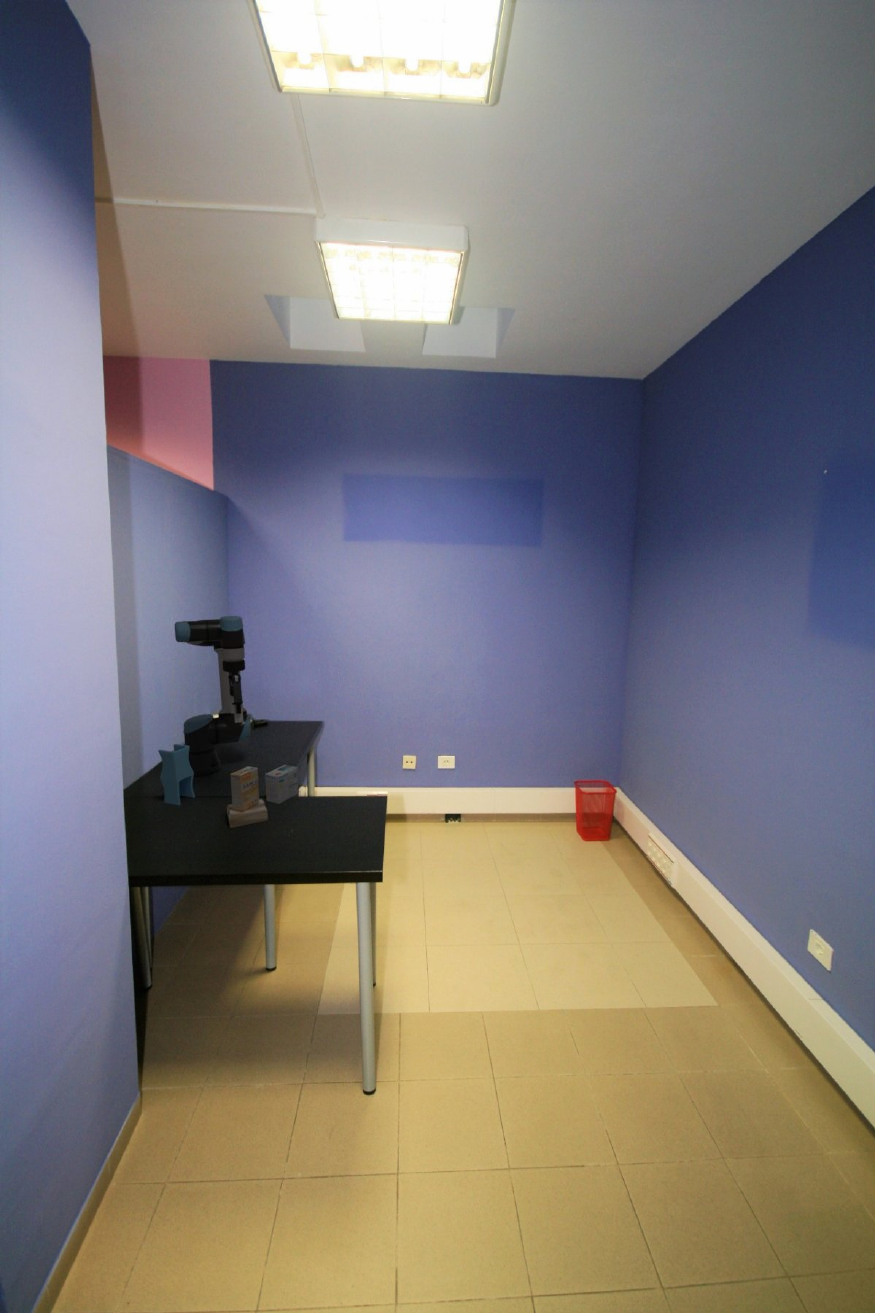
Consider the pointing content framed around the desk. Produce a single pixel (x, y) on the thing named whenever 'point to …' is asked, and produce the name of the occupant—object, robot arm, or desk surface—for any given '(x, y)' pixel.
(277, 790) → the light bulb box
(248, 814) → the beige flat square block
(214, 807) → the desk surface
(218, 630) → the robot arm
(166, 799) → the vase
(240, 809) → the supplement box
